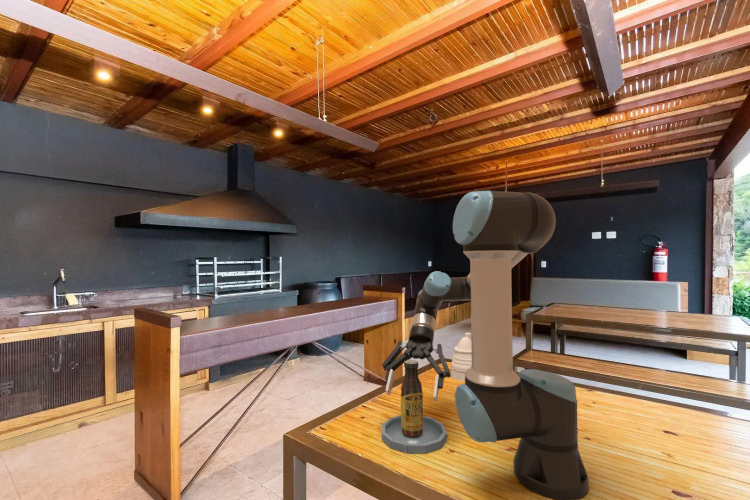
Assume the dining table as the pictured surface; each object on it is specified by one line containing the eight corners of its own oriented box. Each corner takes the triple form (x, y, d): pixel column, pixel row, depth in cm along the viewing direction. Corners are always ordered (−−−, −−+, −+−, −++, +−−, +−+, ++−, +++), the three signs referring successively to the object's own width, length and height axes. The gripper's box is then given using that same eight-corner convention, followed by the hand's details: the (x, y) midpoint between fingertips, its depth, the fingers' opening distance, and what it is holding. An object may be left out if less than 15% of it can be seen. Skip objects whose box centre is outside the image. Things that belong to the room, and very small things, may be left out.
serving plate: (451, 453, 89) (451, 445, 89) (381, 453, 89) (381, 445, 89) (440, 421, 107) (440, 414, 107) (381, 421, 107) (381, 414, 107)
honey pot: (462, 369, 156) (461, 329, 157) (488, 376, 147) (487, 334, 147) (444, 376, 148) (444, 333, 148) (470, 384, 138) (469, 338, 139)
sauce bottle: (406, 440, 94) (402, 366, 95) (398, 429, 100) (395, 360, 101) (428, 435, 96) (424, 363, 96) (419, 426, 102) (416, 357, 102)
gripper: (463, 340, 108) (458, 408, 94) (388, 335, 117) (372, 396, 103) (461, 326, 104) (454, 395, 89) (382, 322, 113) (365, 384, 98)
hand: (410, 396), depth 96 cm, fingers open, 13 cm apart
